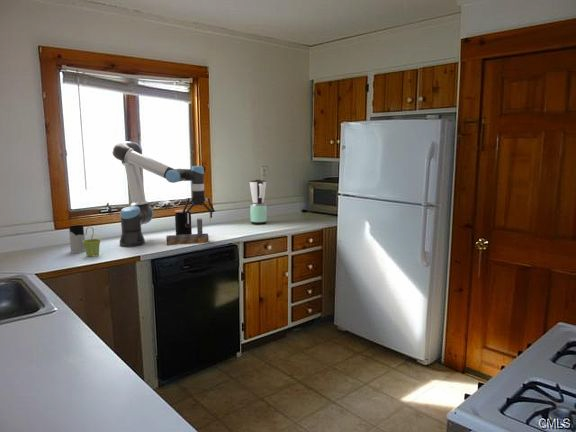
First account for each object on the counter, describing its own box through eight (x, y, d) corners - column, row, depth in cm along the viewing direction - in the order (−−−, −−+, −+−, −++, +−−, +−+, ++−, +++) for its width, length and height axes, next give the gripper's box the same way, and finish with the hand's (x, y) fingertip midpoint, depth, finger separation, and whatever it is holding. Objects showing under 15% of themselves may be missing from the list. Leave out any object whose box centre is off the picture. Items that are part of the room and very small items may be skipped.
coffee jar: (187, 238, 294) (186, 211, 292) (173, 237, 297) (171, 211, 294) (194, 235, 305) (193, 209, 302) (180, 234, 307) (178, 209, 304)
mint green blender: (247, 222, 356) (246, 179, 350) (263, 221, 360) (262, 178, 355) (254, 226, 338) (253, 180, 333) (270, 225, 343) (270, 180, 337)
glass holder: (67, 251, 258) (65, 226, 256) (91, 247, 269) (89, 223, 266) (73, 253, 252) (71, 228, 250) (98, 249, 263) (96, 225, 261)
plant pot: (94, 257, 242) (93, 242, 241) (80, 257, 245) (78, 241, 244) (105, 254, 251) (104, 239, 250) (91, 253, 254) (90, 238, 252)
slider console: (166, 245, 274) (166, 238, 273) (166, 242, 283) (166, 235, 282) (208, 242, 280) (208, 235, 279) (207, 239, 289) (207, 233, 288)
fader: (197, 237, 280) (197, 219, 278) (197, 235, 285) (196, 218, 283) (202, 237, 281) (202, 219, 279) (202, 235, 286) (201, 218, 284)
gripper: (178, 191, 272) (179, 224, 275) (218, 190, 278) (219, 223, 281) (178, 190, 279) (179, 222, 282) (217, 189, 285) (218, 221, 288)
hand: (199, 223), depth 282 cm, fingers open, 13 cm apart
